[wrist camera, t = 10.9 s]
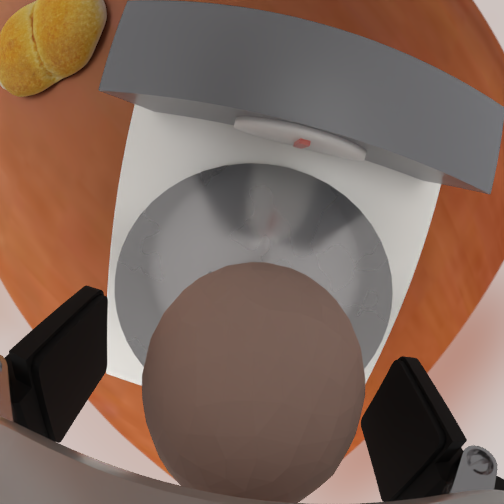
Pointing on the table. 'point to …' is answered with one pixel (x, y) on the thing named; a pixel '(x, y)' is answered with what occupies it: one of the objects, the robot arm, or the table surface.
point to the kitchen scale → (290, 123)
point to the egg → (253, 384)
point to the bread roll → (48, 43)
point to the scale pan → (252, 246)
